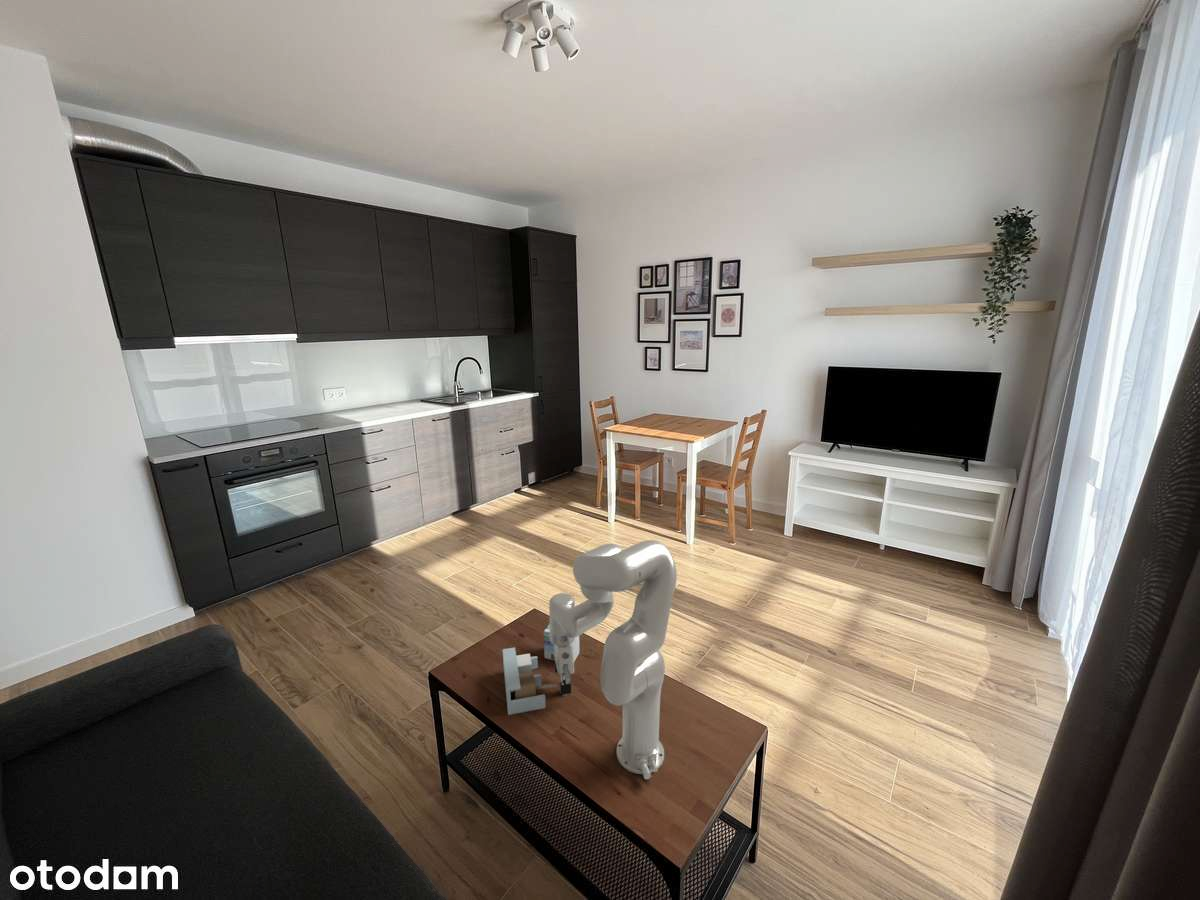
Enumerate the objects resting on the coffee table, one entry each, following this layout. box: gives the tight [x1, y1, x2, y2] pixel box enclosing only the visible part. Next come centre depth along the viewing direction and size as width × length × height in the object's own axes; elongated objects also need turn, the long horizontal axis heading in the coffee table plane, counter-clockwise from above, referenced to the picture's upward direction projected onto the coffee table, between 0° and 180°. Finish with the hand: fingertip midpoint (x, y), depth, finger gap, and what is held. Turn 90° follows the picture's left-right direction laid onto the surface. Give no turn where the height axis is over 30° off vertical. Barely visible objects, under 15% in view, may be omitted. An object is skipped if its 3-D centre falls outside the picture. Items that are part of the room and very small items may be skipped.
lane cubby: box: [502, 647, 547, 716], centre depth 154 cm, size 19×11×9 cm, turn 14°
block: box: [516, 653, 533, 675], centre depth 159 cm, size 6×6×7 cm
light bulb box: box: [543, 622, 580, 662], centre depth 170 cm, size 11×7×11 cm, turn 73°
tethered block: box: [513, 671, 569, 700], centre depth 151 cm, size 6×16×7 cm, turn 104°
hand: (562, 682), depth 153 cm, fingers open, 9 cm apart
